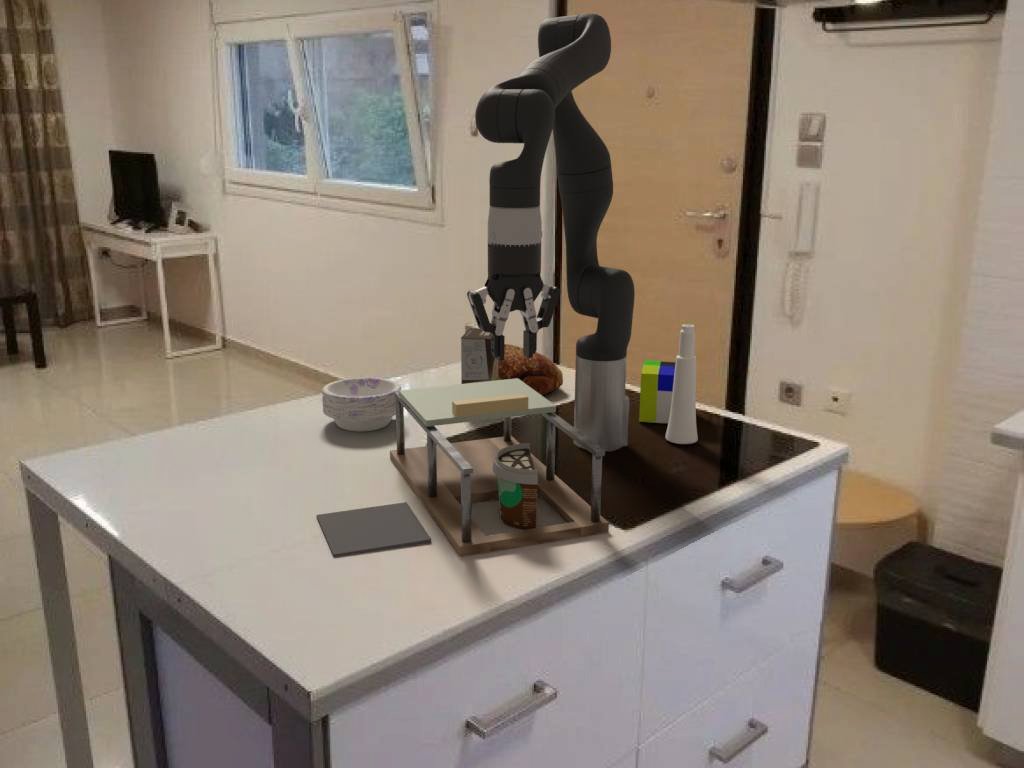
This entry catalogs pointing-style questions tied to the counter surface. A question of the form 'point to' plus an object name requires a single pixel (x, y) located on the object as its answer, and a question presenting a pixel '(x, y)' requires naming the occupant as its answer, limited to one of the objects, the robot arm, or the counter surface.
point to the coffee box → (477, 357)
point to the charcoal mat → (372, 529)
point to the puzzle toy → (656, 391)
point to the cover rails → (467, 469)
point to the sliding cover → (475, 402)
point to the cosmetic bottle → (684, 392)
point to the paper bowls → (360, 403)
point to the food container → (517, 486)
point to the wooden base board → (490, 497)
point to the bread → (530, 370)
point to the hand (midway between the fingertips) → (513, 357)
